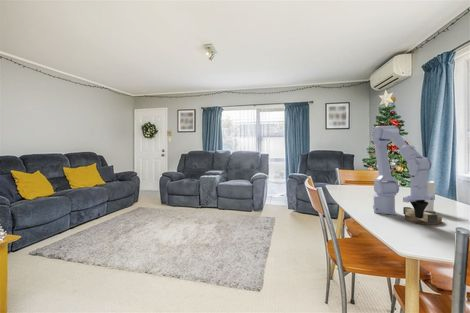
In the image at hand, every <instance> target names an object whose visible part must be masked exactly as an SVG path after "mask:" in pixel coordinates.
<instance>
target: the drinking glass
mask: <svg viewBox="0 0 470 313" xmlns="http://www.w3.org/2000/svg"><path fill="white" fill-rule="evenodd" d="M428 195H434V196H435V197H436V182H435V181H432V180H431V181H429V180H428ZM425 202H428V205H427V206H426V208H425V210H429V211H434V207H435V206H434V205H435V200H425Z"/></svg>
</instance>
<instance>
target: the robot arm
mask: <svg viewBox="0 0 470 313" xmlns="http://www.w3.org/2000/svg"><path fill="white" fill-rule="evenodd" d="M371 135H372V142H373V145H374V152H375V159H376V166H377V172H378V177H376V178H375V179H374V181H373V182H374V185H373V190H374V192H375V194H373V205H372V210H373V213H375V214H381V215H382V214H383V215H394V216H395V215H396V216H397V215H398V213H397V212H396V196H397V194H398V193H399V192H400V186H399V184H398V182H397V178H396V177H394V176H393V175H392V172H391V165H390V160H389V153H388V152H389V151H388V147H387V146H388V145H389V143H391V142H392V143H393V144H394V145H395V146H396V148H398V149H399V151H398V153H399V155H400V156H401V158H403V159H404V161H405V162H406V167H407V170H408V174H409V175H410V195H407V196H403V197H402V203H406V204H407V203H410V204H411V206H412V208H413V209H414V210H415V217H416V218H420V219H421V218H423V213H424V210H425V208H426V206H427V205H428V202H425V200H434V201H436V195H435V196H434V195H428V181H429V180H428V177H429V176H428V175H429V174H428V173H429V172H428V171H430V170H431V168H432V160H430V158H429V157H426V156H423V155H422V154H420V152H418V151H417V149H416V148H415V146H414V145H412V144H408V143H407V142H406V141H405V139H404V138H403V137H402V136H401V134H400V129H399V128H398V126H396V125H376V126H375V127H374V128H373V130H372V132H371Z"/></svg>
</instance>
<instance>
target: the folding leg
mask: <svg viewBox="0 0 470 313" xmlns="http://www.w3.org/2000/svg"><path fill="white" fill-rule="evenodd" d="M402 212H403V213H402V214H403V216H405V215H408V216H411V217H414V218H416V217H415V210H414V208H413V207H410V206H409V207H408V206H404V207H403V211H402ZM437 216H438V214H437V213H436V214H431V213H427V212H424V213H423V218H421V219H420V218H417V219H420V220H423V221H426V222H428V223H437Z"/></svg>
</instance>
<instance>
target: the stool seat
mask: <svg viewBox="0 0 470 313" xmlns="http://www.w3.org/2000/svg"><path fill="white" fill-rule="evenodd" d="M424 212H427V213H431V214H436V215H437V212H436V211H435V210H433V211H429V210H424ZM404 220H405V221H407V222H411V223H413V224H418V225H424V226H425V225H426V226H438V225H440V226H441V225H442V223H443V222H442V221H443V218H442V217H441V216H439V215H437V223H428V222H426V221H423V220H420V219H417V218H414V217H411V216H408V215H404Z"/></svg>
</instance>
